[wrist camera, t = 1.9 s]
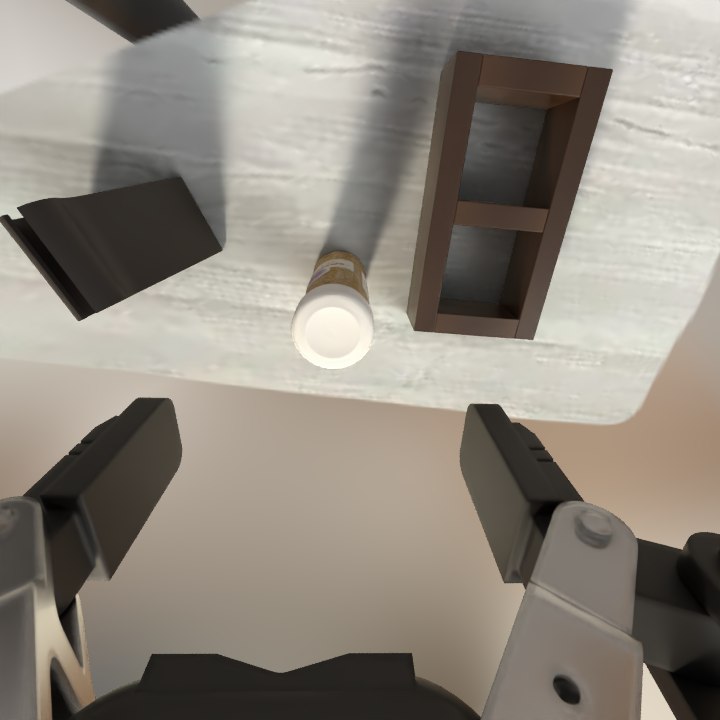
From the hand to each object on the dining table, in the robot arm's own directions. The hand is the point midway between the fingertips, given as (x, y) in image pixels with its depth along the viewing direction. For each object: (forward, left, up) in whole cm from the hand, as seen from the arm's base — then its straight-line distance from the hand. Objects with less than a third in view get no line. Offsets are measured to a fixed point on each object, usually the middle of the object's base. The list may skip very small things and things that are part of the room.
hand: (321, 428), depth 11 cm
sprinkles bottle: (0, -1, -24) cm, 24 cm away
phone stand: (-15, +1, -24) cm, 28 cm away
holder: (+11, +5, -24) cm, 27 cm away
